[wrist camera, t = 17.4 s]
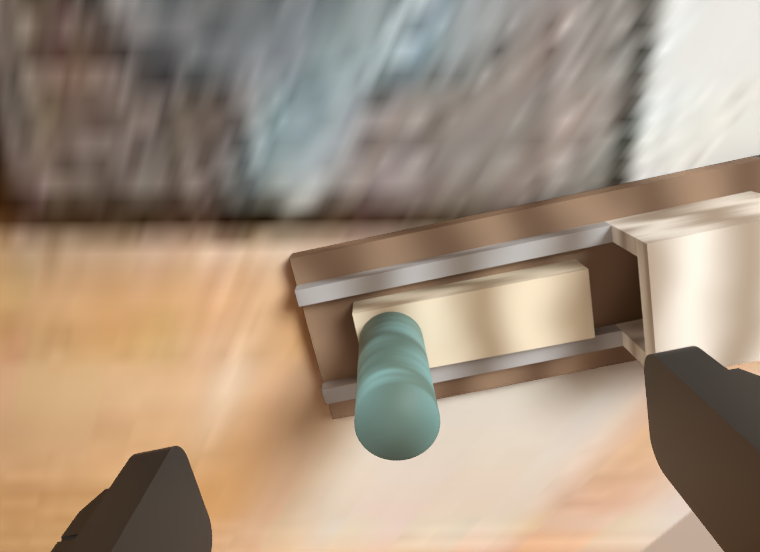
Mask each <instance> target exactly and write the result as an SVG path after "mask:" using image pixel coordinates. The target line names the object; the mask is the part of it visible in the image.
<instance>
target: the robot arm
mask: <svg viewBox="0 0 760 552" xmlns="http://www.w3.org/2000/svg"><path fill="white" fill-rule="evenodd" d="M644 374H645V386H646V397H647V408H648V420H649V431H650V439H651V444H652V448H653V451H654V454H655V457H656V459H657V462H658V464H659V466H660V468H661V470H662V471H663V473H664V474H665V476H666V477H667V479H668V480H669V481H670V482H671V484H672V485H673V486H674V488H675V489H676V490H677V491H678V493H679V494H680V495H681V497H682V498H683V499H684V500H685V502H686V503H687V504H688V506H689V507H690V508H691V509H692V511H693V512H694V513H695V515H696V516H697V517H698V518H699V520H700V521H701V522H702V524H703V525H704V526H705V527H706V529H707V530H708V531H709V533H710V534H711V535H712V536H713V538H714V539H715V540H716V542H717V543H718V544H719V546H720V547H721V548H722V549H723V551H724V552H760V376H758V375H755V374H752V373H750V372H747V371H744V370H741V369H739V368H737V369H732V370H728V369H727V368H725V367H724V366H723V365H721V364H720V363H719V362H717V361H716V360H715V359H713V358H712V357H711V356H710V355H708V354H707V353H706V352H704V351H703V350H702V349H700V348H699V347H697V346H689V347H684V348H679V349H674V350H669V351H664V352H658V353H653V354H649V355H647V356H646V358H645V362H644ZM61 538H62V541H61V542H57V544H56V545H55V547H54V548H53V549H52V551H51V552H211V548H212V529H211V523H210V519H209V516H208V513H207V510H206V508H205V505H204V502H203V499H202V496H201V494H200V491H199V488H198V485H197V482H196V480H195V477H194V474H193V471H192V469H191V466H190V463H189V460H188V458H187V455H186V453H185V452H184V450H183V449H182V448H181V447H179V446H173V447H168V448H163V449H158V450H152V451H147V452H142V453H137V454H134V455H133V456H131V457H130V459H129V460H128V461H127V463H126V464H125V466H124V467H123V469H122V470H121V472H120V473H119V475H118V476H117V478H116V479H115V481H114V482H113V484H112V485H111V487H110V488H109V489H105V490H104V491H103V492H102V493H101V494H99V495H98V496H97V497H96V498H95V499H94V500H93V501H91V502H90V503H89V504H88V505H87V506H86V507H84V508H83V509H82V510H81V511H80V512H79V513H78V514H77V516H76V517H75V519H74V520H73V521H72V523H71V524H70V526H69V527H68V528H67V530H66V531H65V533H64V534H63V535H62V537H61Z"/></svg>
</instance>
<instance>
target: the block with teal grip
mask: <svg viewBox="0 0 760 552" xmlns="http://www.w3.org/2000/svg"><path fill="white" fill-rule="evenodd" d="M352 315H353V320H354V324H355V328H356V333H357V337H358V342H359V352H358V369H357V387H356V404H355V431H356V435H357V437H358V439H359V441H360V442H361V444H362V445H363V446H364V447H365V448H366V449H367V450H368V451H369V452H371V453H372V454H374V455H376V456H378V457H380V458H383V459H387V460H406V459H410V458H413V457H416V456H418V455H420V454H421V453H423V452H424V451H426V450H427V449H428V448H429V447H430V446H431V445H432V444H433V442H434V441H435V439H436V437H437V435H438V432H439V428H440V415H439V411H438V406H437V401H436V396H435V392H434V387H433V382H432V377H431V373H430V368H433V367H439V366H444V365H450V364H455V363H460V362H466V361H471V360H477V359H482V358H487V357H493V356H498V355H504V354H509V353H514V352H520V351H525V350H531V349H536V348H541V347H547V346H552V345H558V344H563V343H569V342H574V341H579V340H585V339H590V338H595V331H594V321H593V311H592V301H591V290H590V280H589V270H588V268H586V267H585V266H584V265H583V264H581V263H580V262H579V261H577V260H576V259H574V260H569V261H564V262H559V263H553V264H548V265H543V266H538V267H533V268H527V269H522V270H517V271H512V272H506V273H501V274H496V275H491V276H486V277H480V278H475V279H470V280H465V281H459V282H454V283H449V284H444V285H439V286H433V287H428V288H423V289H418V290H412V291H407V292H402V293H397V294H392V295H386V296H381V297H376V298H371V299H365V300H360V301H355V302H353V312H352Z"/></svg>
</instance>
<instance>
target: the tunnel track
mask: <svg viewBox="0 0 760 552" xmlns="http://www.w3.org/2000/svg"><path fill="white" fill-rule="evenodd" d="M574 259H576V260H577V261H579V262H580V263H581V264H583V265H584V266H585V267H586V268H588V270H589V280H590V290H591V301H592V311H593V321H594V331H595V338H590V339H585V340H579V341H574V342H569V343H563V344H558V345H552V346H547V347H541V348H536V349H531V350H525V351H520V352H514V353H509V354H504V355H498V356H493V357H487V358H482V359H477V360H471V361H466V362H460V363H455V364H450V365H444V366H439V367H433V368H430V373H431V377H432V382H433V387H434V392H435V396H436V399H440V398H445V397H450V396H455V395H460V394H465V393H470V392H475V391H481V390H486V389H491V388H496V387H501V386H506V385H511V384H516V383H521V382H527V381H532V380H537V379H542V378H547V377H552V376H557V375H562V374H567V373H573V372H578V371H583V370H588V369H593V368H598V367H603V366H608V365H613V364H619V363H624V362H629V361H634V360H638V361H639V362H640V363H641V364H642V365H643V366H644V362H645V358H646V356H647V355H649V354H653V353H658V352H664V351H669V350H674V349H679V348H684V347H689V346H697V347H699V348H700V349H702V350H703V351H704V352H706V353H707V354H708V355H710V356H711V357H712V358H713V359H715V360H716V361H717V362H719V363H720V364H721V365H723V366H724V367H728V366H733V365H739V364H744V363H749V362H754V361H759V360H760V155H757V156H752V157H747V158H742V159H738V160H733V161H728V162H724V163H719V164H714V165H709V166H705V167H700V168H695V169H690V170H686V171H681V172H676V173H671V174H667V175H662V176H657V177H653V178H648V179H643V180H638V181H634V182H629V183H624V184H619V185H615V186H610V187H605V188H600V189H596V190H591V191H586V192H581V193H577V194H572V195H567V196H563V197H558V198H553V199H548V200H544V201H539V202H534V203H529V204H525V205H520V206H515V207H510V208H506V209H501V210H496V211H491V212H487V213H482V214H477V215H473V216H468V217H463V218H458V219H454V220H449V221H444V222H439V223H435V224H430V225H425V226H420V227H416V228H411V229H406V230H401V231H397V232H392V233H387V234H383V235H378V236H373V237H368V238H364V239H359V240H354V241H349V242H345V243H340V244H335V245H330V246H326V247H321V248H316V249H312V250H307V251H302V252H297V253H293V254H292V255H291V257H290V262H291V266H292V270H293V273H294V277H295V281H296V285H297V286H296V289H295V294H296V298H297V302H298V305H299V307H301V306H302V307H303V311H304V314H305V318H306V322H307V326H308V329H309V333H310V337H311V340H312V344H313V348H314V352H315V355H316V359H317V363H318V366H319V370H320V374H321V378H322V381H323V384H322V394H323V398H324V401H325V404H329V407H330V411H331V415H332V419H337V418H343V417H348V416H353V415H355V404H356V387H357V369H358V352H359V342H358V337H357V333H356V328H355V324H354V320H353V315H352V312H353V302H355V301H360V300H365V299H371V298H376V297H381V296H386V295H392V294H397V293H402V292H407V291H412V290H418V289H423V288H428V287H433V286H439V285H444V284H449V283H454V282H459V281H465V280H470V279H475V278H480V277H486V276H491V275H496V274H501V273H506V272H512V271H517V270H522V269H527V268H533V267H538V266H543V265H548V264H553V263H559V262H564V261H569V260H574Z"/></svg>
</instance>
